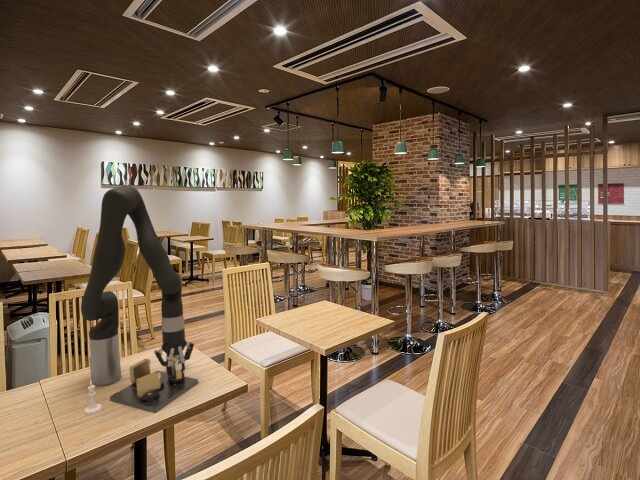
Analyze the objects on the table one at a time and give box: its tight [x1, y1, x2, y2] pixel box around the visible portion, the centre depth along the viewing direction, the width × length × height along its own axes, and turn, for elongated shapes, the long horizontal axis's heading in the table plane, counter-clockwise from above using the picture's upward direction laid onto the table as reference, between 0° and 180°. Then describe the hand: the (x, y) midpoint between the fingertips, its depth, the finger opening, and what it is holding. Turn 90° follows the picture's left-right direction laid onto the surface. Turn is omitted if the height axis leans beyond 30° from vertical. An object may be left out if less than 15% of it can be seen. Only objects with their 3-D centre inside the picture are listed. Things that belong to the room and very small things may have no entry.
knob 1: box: [128, 358, 151, 387], centre depth 132 cm, size 7×6×8 cm
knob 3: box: [168, 357, 186, 384], centre depth 133 cm, size 7×6×8 cm
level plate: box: [109, 370, 199, 413], centre depth 129 cm, size 20×20×3 cm
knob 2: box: [136, 370, 161, 402], centre depth 122 cm, size 7×6×8 cm
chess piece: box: [84, 379, 103, 416], centre depth 118 cm, size 5×5×10 cm
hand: (176, 373), depth 133 cm, fingers open, 3 cm apart
